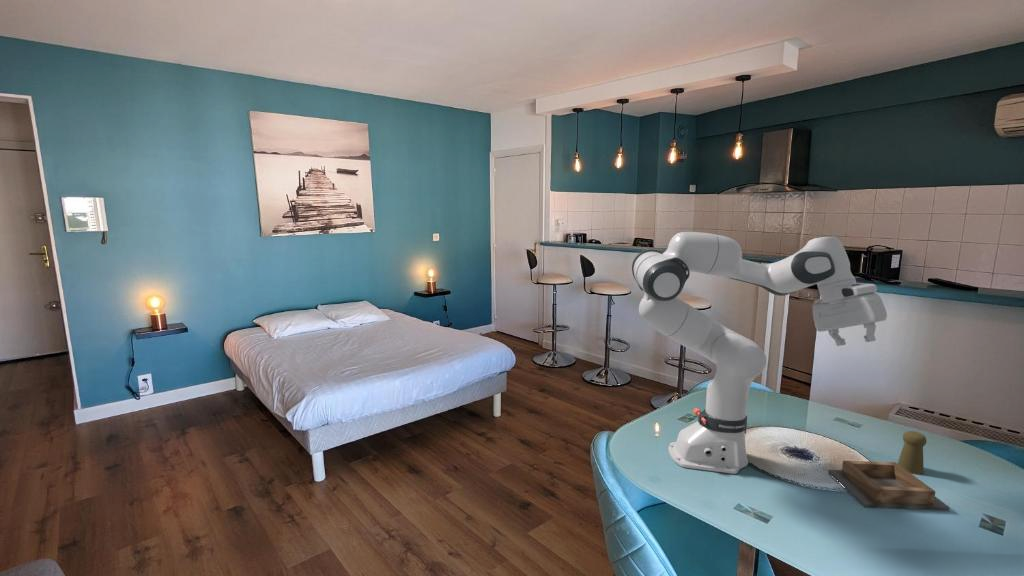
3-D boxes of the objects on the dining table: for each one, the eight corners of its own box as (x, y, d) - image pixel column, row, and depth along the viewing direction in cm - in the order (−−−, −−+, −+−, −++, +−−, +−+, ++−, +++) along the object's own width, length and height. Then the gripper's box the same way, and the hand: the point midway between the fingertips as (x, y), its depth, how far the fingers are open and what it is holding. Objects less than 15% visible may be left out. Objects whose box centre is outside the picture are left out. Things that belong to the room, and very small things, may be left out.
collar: (864, 507, 121) (866, 491, 120) (828, 473, 137) (829, 458, 136) (948, 510, 120) (951, 494, 119) (902, 475, 136) (904, 460, 135)
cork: (928, 475, 136) (934, 439, 134) (904, 473, 137) (909, 437, 135) (915, 464, 142) (920, 429, 140) (892, 462, 143) (897, 427, 141)
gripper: (801, 302, 141) (816, 349, 138) (861, 287, 121) (879, 341, 119) (820, 299, 142) (834, 345, 139) (881, 283, 122) (900, 336, 120)
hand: (855, 343), depth 129 cm, fingers open, 8 cm apart
